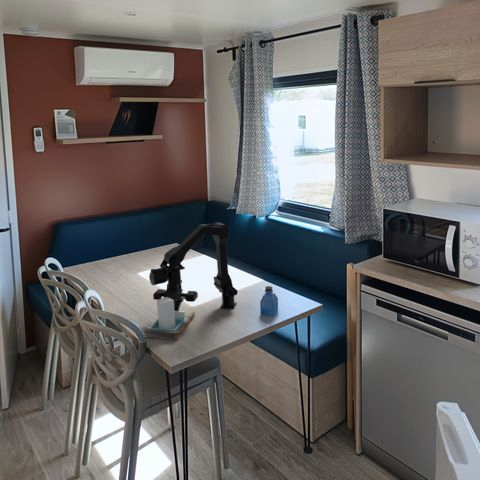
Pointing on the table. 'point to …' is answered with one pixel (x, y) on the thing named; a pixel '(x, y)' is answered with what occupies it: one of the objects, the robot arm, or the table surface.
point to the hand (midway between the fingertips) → (176, 313)
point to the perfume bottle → (269, 302)
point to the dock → (169, 334)
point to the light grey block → (166, 313)
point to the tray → (179, 322)
